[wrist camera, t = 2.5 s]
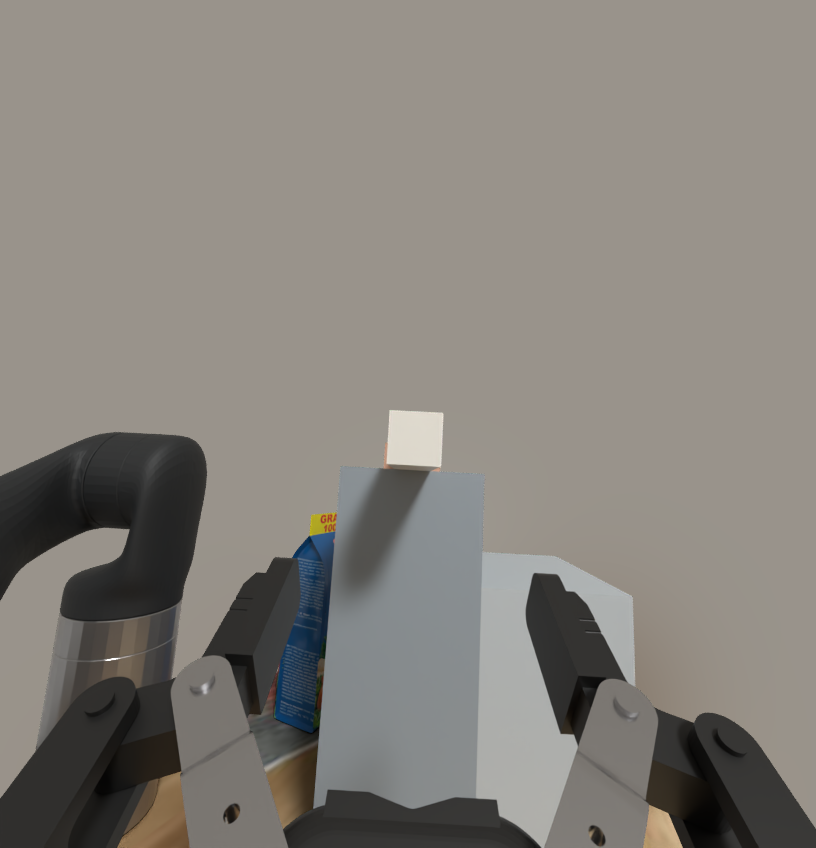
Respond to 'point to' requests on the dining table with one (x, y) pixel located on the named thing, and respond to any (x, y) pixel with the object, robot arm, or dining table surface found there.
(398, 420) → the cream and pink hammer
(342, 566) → the riser
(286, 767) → the dining table surface
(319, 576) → the blue food package
